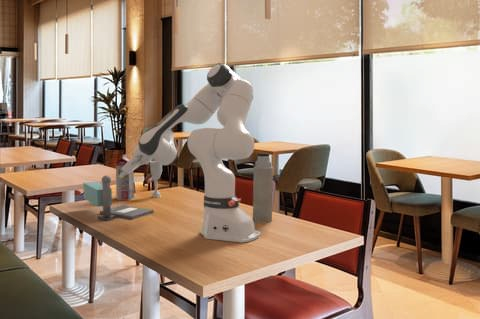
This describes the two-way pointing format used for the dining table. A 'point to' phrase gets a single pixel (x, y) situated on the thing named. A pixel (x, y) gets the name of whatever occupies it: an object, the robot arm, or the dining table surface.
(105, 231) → the dining table surface
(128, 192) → the white tall printed box
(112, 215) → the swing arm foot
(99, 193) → the block
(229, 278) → the dining table surface
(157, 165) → the chalice
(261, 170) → the thermos bottle
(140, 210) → the grey flat rectangular block
